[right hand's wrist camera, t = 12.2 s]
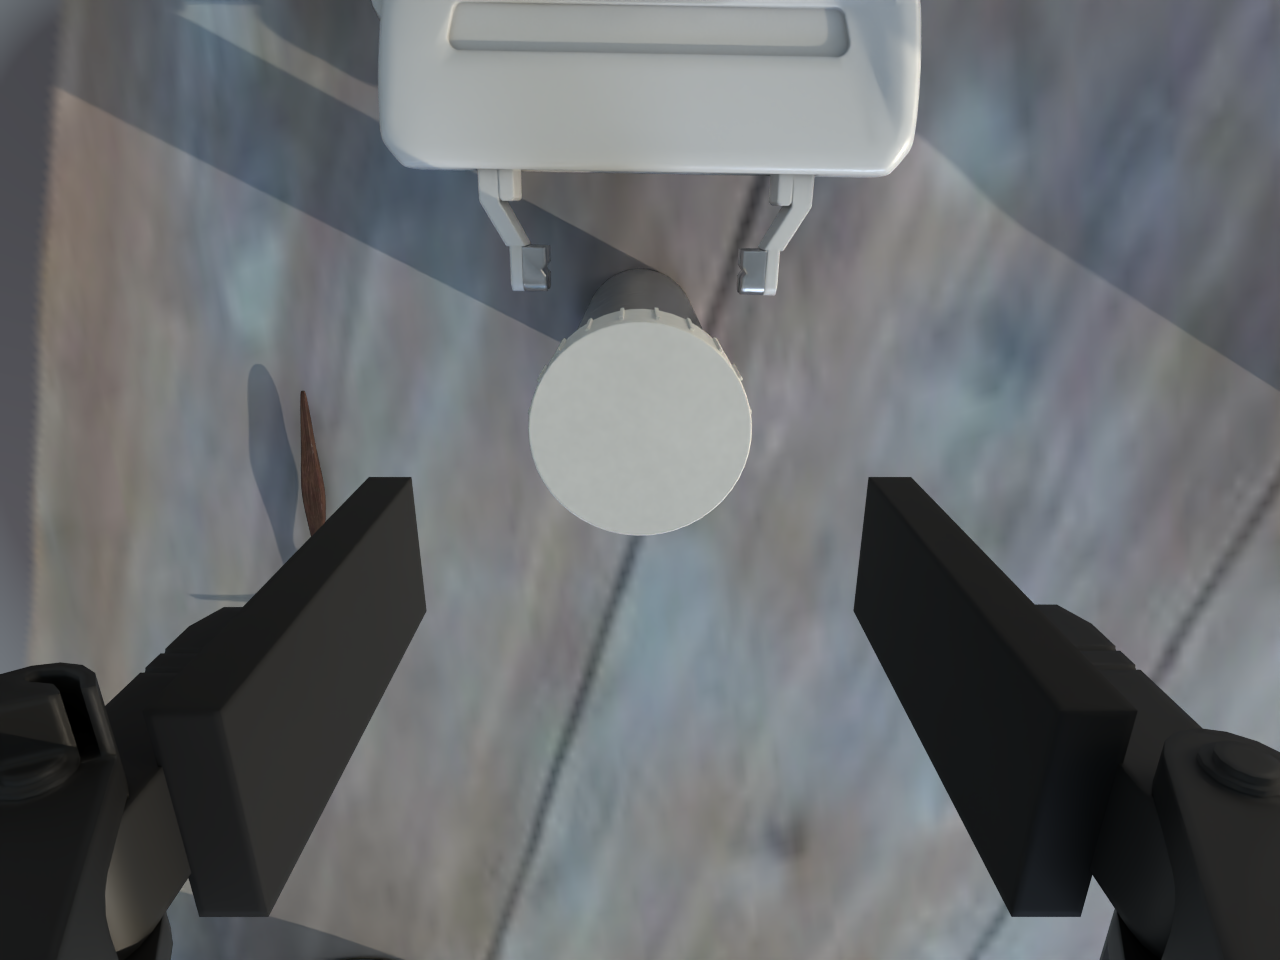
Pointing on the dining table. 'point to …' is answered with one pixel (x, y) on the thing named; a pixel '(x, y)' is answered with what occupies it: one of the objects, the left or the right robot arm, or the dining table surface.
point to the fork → (311, 472)
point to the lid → (639, 423)
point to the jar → (640, 295)
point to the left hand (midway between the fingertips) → (643, 292)
